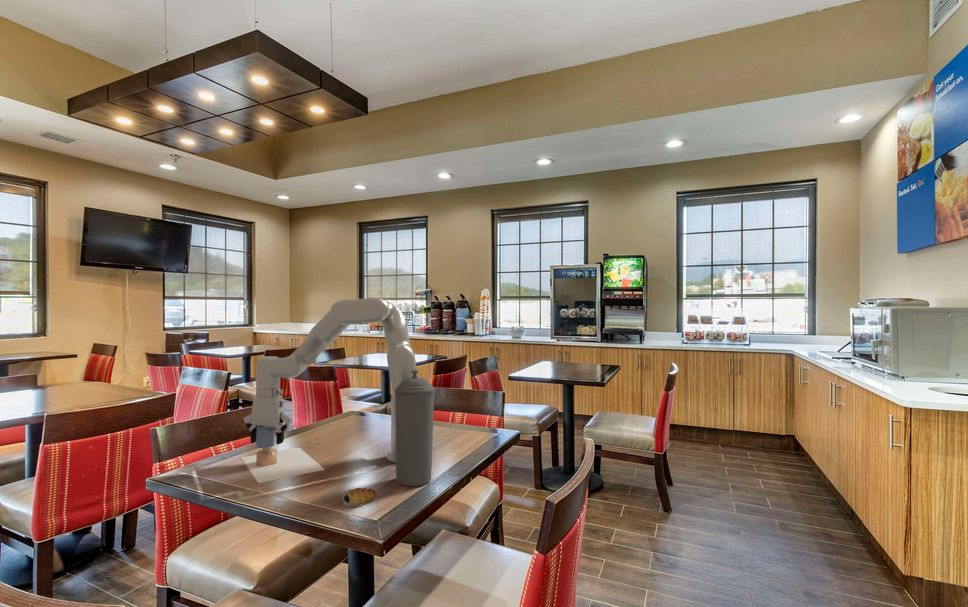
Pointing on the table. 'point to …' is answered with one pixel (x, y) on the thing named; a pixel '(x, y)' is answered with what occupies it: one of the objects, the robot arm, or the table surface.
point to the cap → (265, 437)
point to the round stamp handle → (266, 457)
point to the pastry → (359, 497)
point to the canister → (414, 430)
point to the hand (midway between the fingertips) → (267, 442)
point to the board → (283, 465)
